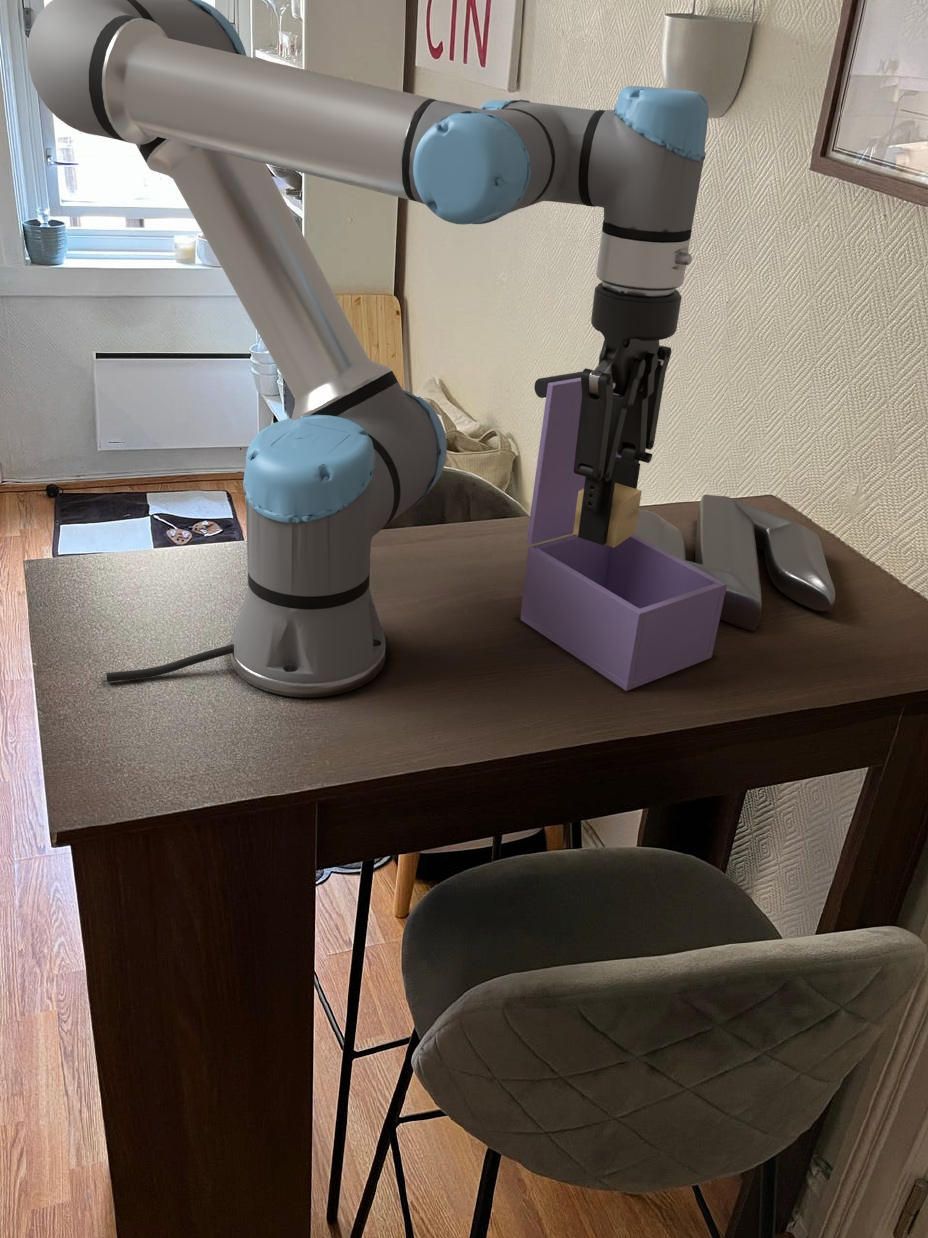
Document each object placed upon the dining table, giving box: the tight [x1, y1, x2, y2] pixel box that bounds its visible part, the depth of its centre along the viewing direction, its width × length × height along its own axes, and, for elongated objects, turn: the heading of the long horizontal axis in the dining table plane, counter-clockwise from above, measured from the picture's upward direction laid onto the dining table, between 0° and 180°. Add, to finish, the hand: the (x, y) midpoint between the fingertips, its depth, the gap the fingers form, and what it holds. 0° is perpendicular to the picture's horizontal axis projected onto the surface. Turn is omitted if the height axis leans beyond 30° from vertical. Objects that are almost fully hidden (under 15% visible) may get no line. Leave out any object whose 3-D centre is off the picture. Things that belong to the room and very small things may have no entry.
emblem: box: [634, 494, 836, 631], centre depth 134 cm, size 28×5×28 cm
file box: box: [520, 534, 727, 692], centre depth 117 cm, size 17×13×9 cm
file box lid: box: [526, 371, 621, 545], centre depth 117 cm, size 17×13×6 cm
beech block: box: [572, 483, 643, 548], centre depth 106 cm, size 4×4×4 cm
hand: (604, 530), depth 107 cm, fingers closed on beech block, 4 cm apart
